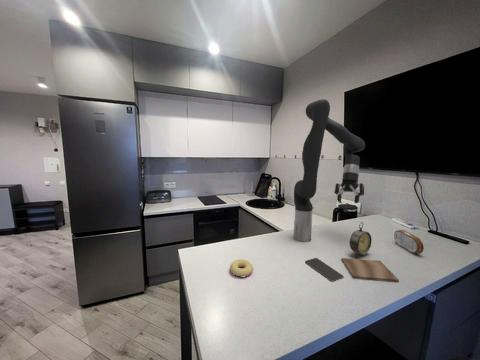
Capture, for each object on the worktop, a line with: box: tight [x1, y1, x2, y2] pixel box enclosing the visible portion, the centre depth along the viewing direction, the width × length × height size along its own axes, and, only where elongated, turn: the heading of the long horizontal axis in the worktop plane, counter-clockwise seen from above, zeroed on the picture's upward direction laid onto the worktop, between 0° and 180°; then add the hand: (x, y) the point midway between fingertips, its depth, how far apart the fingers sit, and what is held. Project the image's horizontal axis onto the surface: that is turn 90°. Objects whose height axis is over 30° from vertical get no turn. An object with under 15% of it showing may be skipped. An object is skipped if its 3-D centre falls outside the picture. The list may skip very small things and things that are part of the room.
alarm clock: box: [349, 221, 373, 259], centre depth 92 cm, size 11×5×16 cm, turn 117°
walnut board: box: [340, 257, 400, 283], centre depth 81 cm, size 16×13×1 cm
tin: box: [393, 229, 425, 254], centre depth 98 cm, size 15×3×8 cm, turn 179°
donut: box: [229, 258, 254, 277], centre depth 81 cm, size 10×5×9 cm
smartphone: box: [304, 257, 345, 283], centre depth 82 cm, size 7×1×15 cm
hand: (347, 202), depth 104 cm, fingers open, 8 cm apart
